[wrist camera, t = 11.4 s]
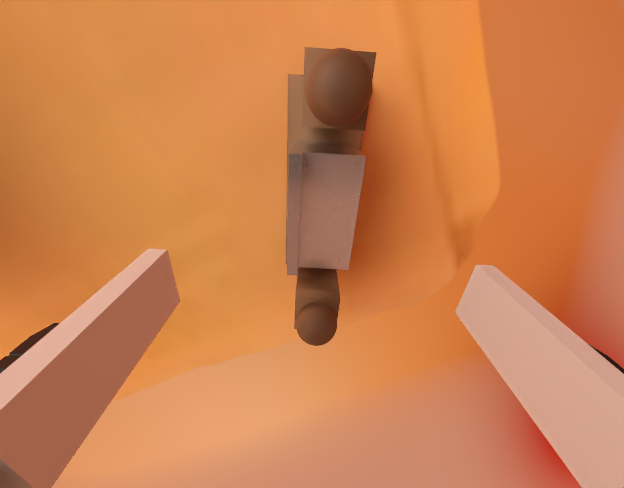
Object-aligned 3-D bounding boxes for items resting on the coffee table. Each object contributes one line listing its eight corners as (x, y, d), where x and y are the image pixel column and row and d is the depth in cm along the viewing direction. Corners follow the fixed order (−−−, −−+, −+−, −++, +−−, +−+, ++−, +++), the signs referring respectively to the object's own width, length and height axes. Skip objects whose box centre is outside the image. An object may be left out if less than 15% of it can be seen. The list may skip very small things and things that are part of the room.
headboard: (286, 259, 31) (268, 354, 18) (289, 75, 22) (258, 27, 10) (342, 262, 31) (360, 358, 19) (368, 81, 22) (434, 41, 10)
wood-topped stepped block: (295, 227, 27) (286, 274, 19) (297, 139, 23) (288, 153, 15) (339, 229, 27) (350, 278, 19) (350, 143, 23) (370, 159, 15)
